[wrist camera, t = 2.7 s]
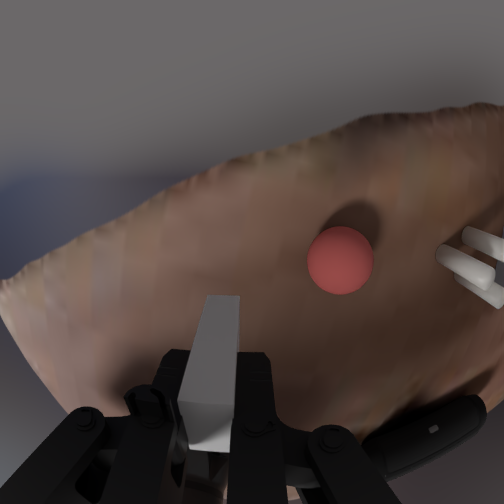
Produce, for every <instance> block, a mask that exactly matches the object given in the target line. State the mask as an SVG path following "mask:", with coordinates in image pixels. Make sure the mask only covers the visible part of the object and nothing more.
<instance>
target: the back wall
mask: <svg viewBox="0 0 504 504" xmlns="http://www.w3.org/2000/svg"><path fill="white" fill-rule="evenodd" d="M502 239H504V228H503V234H502ZM494 282H495V283H497V284H499V285H500V286H502V287H504V262H502V261H500V260H497V264H496V269H495V279H494Z"/></svg>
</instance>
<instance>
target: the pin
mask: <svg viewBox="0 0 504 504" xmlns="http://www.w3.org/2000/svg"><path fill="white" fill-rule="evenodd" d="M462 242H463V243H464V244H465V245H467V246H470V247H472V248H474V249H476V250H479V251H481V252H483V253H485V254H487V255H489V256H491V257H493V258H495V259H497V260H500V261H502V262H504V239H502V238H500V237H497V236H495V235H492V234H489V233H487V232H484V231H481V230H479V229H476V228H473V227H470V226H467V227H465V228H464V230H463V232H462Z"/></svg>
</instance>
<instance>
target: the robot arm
mask: <svg viewBox="0 0 504 504" xmlns="http://www.w3.org/2000/svg"><path fill="white" fill-rule="evenodd" d="M239 327H240V296H226V295H207V299H206V302H205V305H204V308H203V312H202V315H201V318H200V322H199V325H198V328H197V332H196V335H195V339H194V342H193V345H192V349H191V350H179V349H171V350H170V351H169V352H168V353H166V354H165V355H164V356H163V358H162V360H161V363H160V365H159V368H158V370H157V373H156V375H155V378H154V380H153V383H152V385H140V386H136V387H134V388H132V389H130V390H129V391H128V392H127V393H126V394H125V396H124V399H125V402H126V404H127V406H128V409H129V411H130V414H131V415H128V416H122V417H104V416H103V414H102V413H101V412H100V411H99V410H98V409H96V408H93V407H80V408H77V409H75V410H74V411H72V412H71V413H70V414H69V415H68V416H67V417H66V418H65V419H64V420H63V421H62V422H61V423H60V425H58V426H57V427H56V428H55V430H54V431H53V432H52V433H51V434H50V435H49V436H48V437H47V438H46V439H45V440H44V441H43V442H42V443H41V444H40V445H39V446H38V448H37V449H36V450H35V451H34V452H33V453H32V454H31V455H30V456H29V457H28V458H27V459H26V460H25V462H24V463H23V464H22V465H21V466H20V467H19V468H18V469H17V470H16V471H15V472H14V474H13V475H12V476H11V477H10V478H9V479H8V480H7V481H6V482H5V483H4V485H3V486H2V487H1V488H0V504H223V494H224V490H225V488H226V486H227V484H228V487H227V504H288V497H287V487H286V485H288V486H294V487H295V488H296V490H297V492H298V494H299V496H300V499H301V501H302V503H303V504H402V503H401V502H400V501H399V499H398V498H397V497H396V495H395V494H394V492H393V491H392V490H391V488H390V487H389V485H388V484H387V482H386V481H385V480H384V478H383V477H382V475H381V474H380V473H379V471H378V470H377V468H376V467H375V465H374V464H373V463H372V461H371V460H370V458H369V457H368V455H367V454H366V453H365V451H364V450H363V448H362V447H361V445H360V444H359V442H358V441H357V440H356V438H355V437H354V435H353V434H352V433H351V432H350V431H349V430H348V429H346V428H344V427H342V426H339V425H324V426H321V427H319V428H317V429H315V430H314V431H313V432H308V431H302V430H297V429H294V428H290V427H289V426H287V425H285V424H284V423H282V422H281V421H280V420H279V418H278V417H277V414H276V410H275V401H274V392H273V382H272V373H271V364H270V360H269V359H268V357H267V356H266V355H265V353H264V352H239Z"/></svg>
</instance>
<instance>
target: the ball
mask: <svg viewBox="0 0 504 504" xmlns="http://www.w3.org/2000/svg"><path fill="white" fill-rule="evenodd" d="M373 263H374V257H373V252H372V248H371V246H370V244H369V242H368V241H367V239H366V238H365V237H364V236H363V235H362V234H361V233H360V232H358V231H357V230H355V229H352V228H349V227H344V226H337V227H332V228H329V229H327V230H325V231H323V232H321V233H320V234H319V235H318V236H317V237H316V238H315V239H314V241H313V242H312V244H311V246H310V248H309V251H308V256H307V265H308V270H309V273H310V275H311V277H312V279H313V281H314V282H315V283H316V284H317V285H318V286H319V287H320V288H322V289H323V290H325V291H327V292H329V293H332V294H339V295H341V294H348V293H352V292H354V291H356V290H358V289H359V288H360V287H362V286H363V285H364V284H365V283H366V281H367V280H368V278H369V277H370V275H371V272H372V269H373Z"/></svg>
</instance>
